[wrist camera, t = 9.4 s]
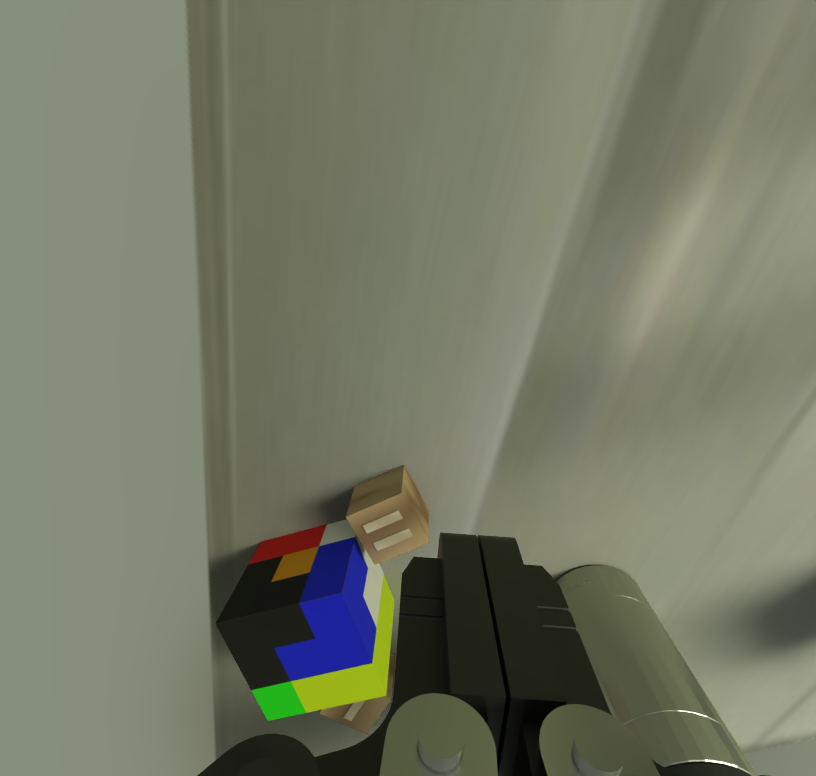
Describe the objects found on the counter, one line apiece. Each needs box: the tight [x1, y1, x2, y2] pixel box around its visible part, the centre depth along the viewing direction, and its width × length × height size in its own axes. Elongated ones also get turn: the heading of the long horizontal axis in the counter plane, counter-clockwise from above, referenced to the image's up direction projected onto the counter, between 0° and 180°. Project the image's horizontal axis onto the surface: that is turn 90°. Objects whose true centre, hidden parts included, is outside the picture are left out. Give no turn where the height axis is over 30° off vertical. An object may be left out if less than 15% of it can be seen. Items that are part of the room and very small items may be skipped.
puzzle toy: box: [216, 519, 394, 721], centre depth 40 cm, size 10×10×10 cm
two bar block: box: [346, 465, 429, 565], centre depth 40 cm, size 5×5×5 cm
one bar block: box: [320, 652, 395, 734], centre depth 45 cm, size 5×5×5 cm
